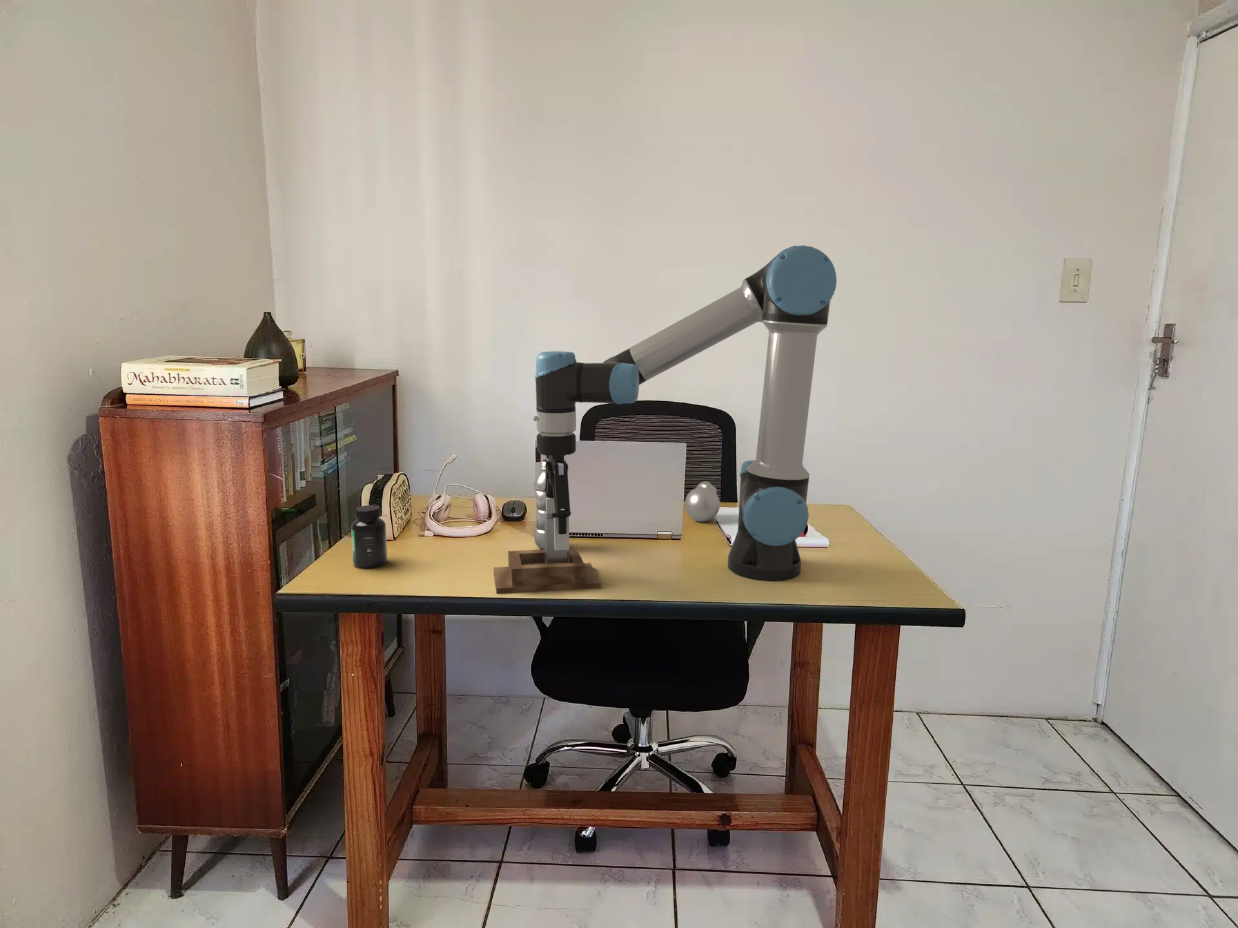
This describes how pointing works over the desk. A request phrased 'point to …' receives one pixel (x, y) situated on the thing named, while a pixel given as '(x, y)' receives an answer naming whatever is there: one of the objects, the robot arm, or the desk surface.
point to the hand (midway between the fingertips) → (557, 539)
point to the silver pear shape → (702, 502)
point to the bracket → (551, 544)
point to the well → (543, 573)
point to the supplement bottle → (369, 538)
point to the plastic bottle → (540, 506)
